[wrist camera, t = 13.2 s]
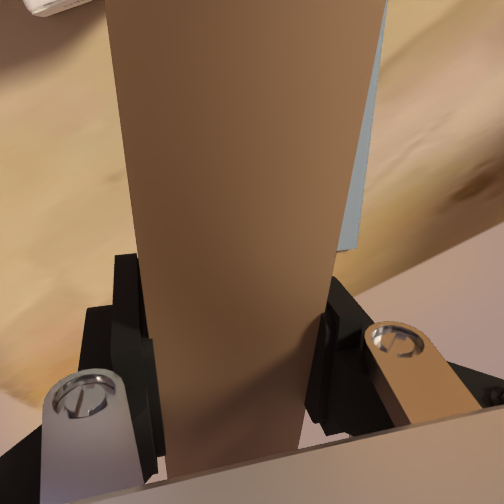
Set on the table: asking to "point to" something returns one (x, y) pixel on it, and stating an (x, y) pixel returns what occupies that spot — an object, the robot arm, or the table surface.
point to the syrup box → (51, 6)
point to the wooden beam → (238, 202)
